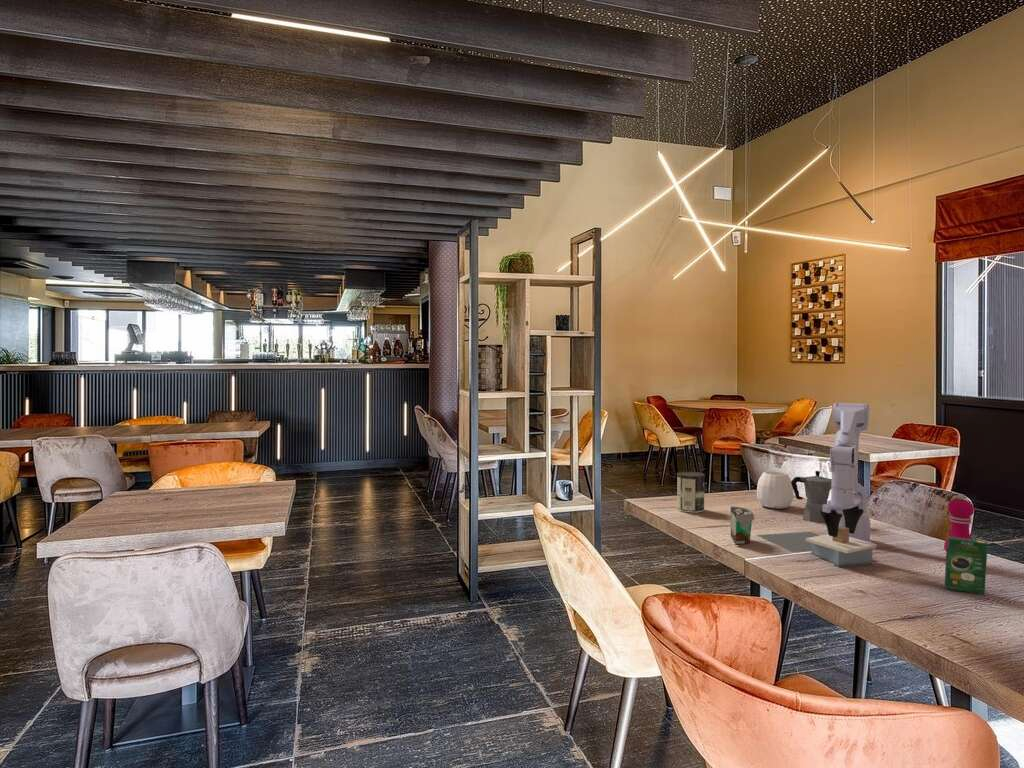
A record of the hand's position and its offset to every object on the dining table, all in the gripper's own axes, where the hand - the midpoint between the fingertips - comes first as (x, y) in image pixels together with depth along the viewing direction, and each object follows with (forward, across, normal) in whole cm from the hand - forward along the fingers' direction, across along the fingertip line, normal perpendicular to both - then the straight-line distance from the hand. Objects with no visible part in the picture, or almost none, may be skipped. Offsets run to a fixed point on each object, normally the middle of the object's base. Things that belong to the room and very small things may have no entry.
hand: (841, 534), depth 176 cm
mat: (+7, -4, -16) cm, 18 cm away
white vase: (+8, -36, -54) cm, 65 cm away
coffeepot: (+8, -32, -33) cm, 46 cm away
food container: (+8, +12, -25) cm, 29 cm away
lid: (+3, 0, 0) cm, 3 cm away
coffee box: (+8, -6, +29) cm, 31 cm away
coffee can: (+8, -3, -64) cm, 65 cm away
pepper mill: (+8, -26, +17) cm, 32 cm away
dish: (+7, 0, 0) cm, 7 cm away
